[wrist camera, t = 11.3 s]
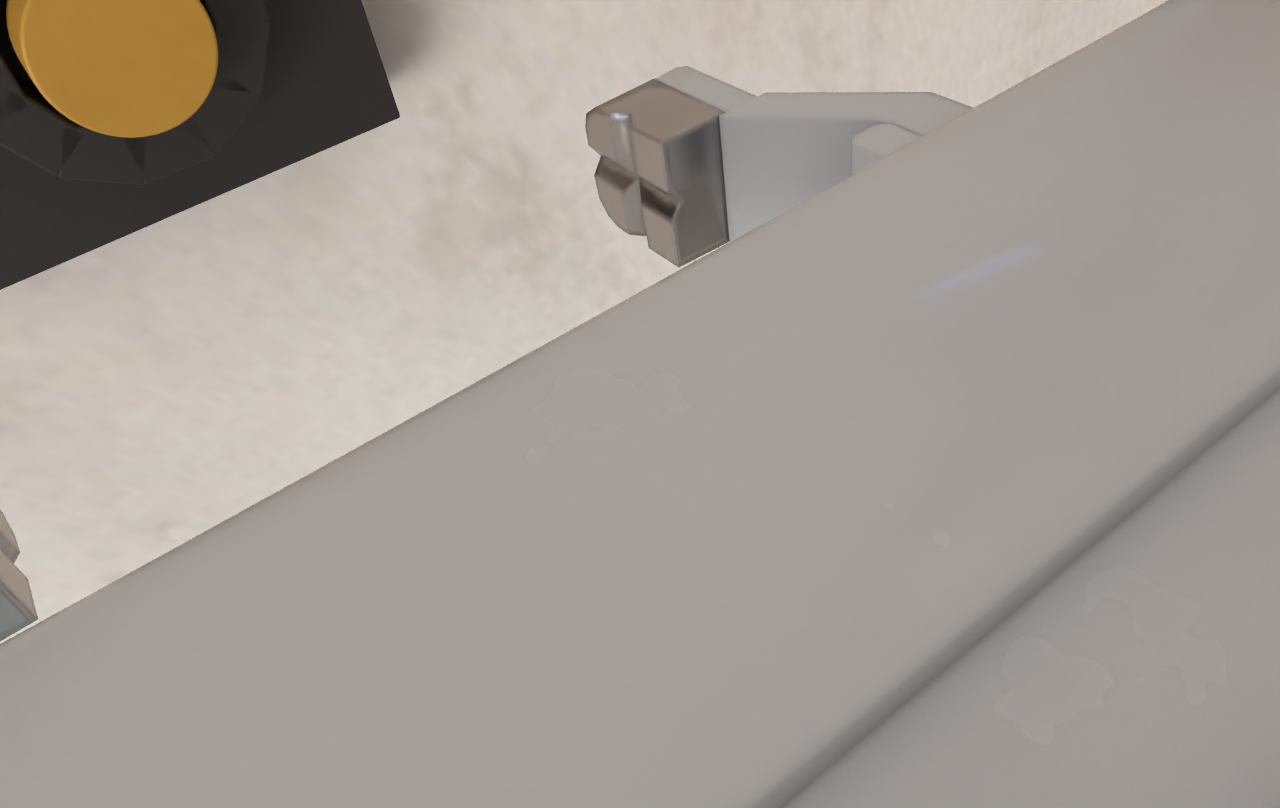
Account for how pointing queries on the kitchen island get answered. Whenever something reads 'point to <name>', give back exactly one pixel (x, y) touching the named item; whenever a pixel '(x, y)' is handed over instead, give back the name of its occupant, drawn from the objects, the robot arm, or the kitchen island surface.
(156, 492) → the kitchen island surface
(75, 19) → the button
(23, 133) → the button box
